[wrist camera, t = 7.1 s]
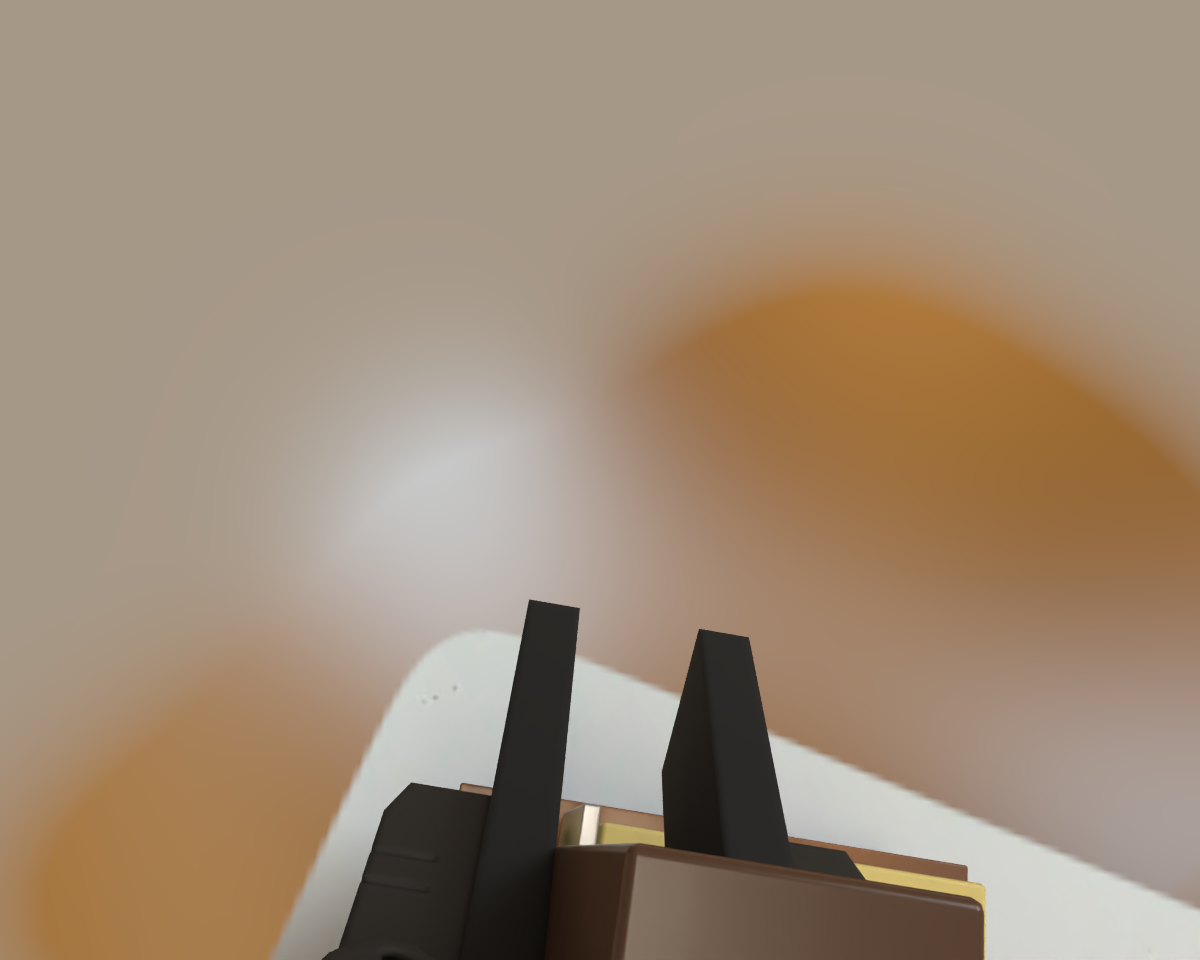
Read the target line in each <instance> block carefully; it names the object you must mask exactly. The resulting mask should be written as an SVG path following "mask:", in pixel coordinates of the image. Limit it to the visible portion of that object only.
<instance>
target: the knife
mask: <svg viewBox="0 0 1200 960" xmlns="http://www.w3.org/2000/svg"><path fill="white" fill-rule="evenodd" d="M600 811H601V807H600V806H598V805H592V804H583V805H581V806H579V807H577V808H575V809H573V810H570V811H568V812H566V813H564V815H563V820H562V827H561V833H560V839H559V846H556V850H555V856H554V866H553V876H552V886H551V897H550V907H549V917H548V927H547V937H546V947H545V957H544V960H984V911H983V907H982V904H981V903H980V902H978V901H977V900H975V899H973V898H972V897H968V896H962V895H955V894H949V893H943V892H937V891H931V890H925V889H919V888H913V887H906V886H900V885H894V884H888V883H882V882H876V881H870V880H864V879H857V878H851V877H845V876H839V875H833V874H827V873H821V872H815V871H808V870H802V869H796V868H790V867H784V866H778V865H772V864H766V863H759V862H753V861H747V860H741V859H735V858H729V857H723V856H717V855H710V854H704V853H698V852H692V851H686V850H680V849H674V848H668V847H661V846H655V845H649V844H643V843H623V844H596V839H597V832H598V825H599V818H600Z"/></svg>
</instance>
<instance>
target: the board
mask: <svg viewBox="0 0 1200 960" xmlns="http://www.w3.org/2000/svg"><path fill="white" fill-rule="evenodd" d="M492 790H493V788H491V787H485V786H479V785H473V784H467V783H461V785H460V791H466V792H472V793H478V794H484V795H490V796H491V795H492ZM583 804H588V803H582V802H576V801H570V800H564V799H561V804H560V815H559V825H558V835H557V845H556V846H559V839H560V833H561V827H562V820H563V815H564V813H566V812H568V811H570V810H573V809H575V808H577V807H579V806H581V805H583ZM592 805H594V804H592ZM598 806H600V805H598ZM600 807H601V811H600V818H599V824H603V823H613V824H619V825H625V826H631V827H638V828H644V829H650V830H656V831H662V832H664V817H663V816H661V815H655V814H649V813H643V812H637V811H631V810H625V809H618V808H612V807H606V806H600ZM788 840H789V842H793V843H799V844H805V845H811V846H817V847H823V848H829V849H835V850H841V851H846V853H847V854H848V855H849V857H850V858H851V860H852V861H853V862H854V863H857V864H863V865H869V866H875V867H882V868H888V869H894V870H900V871H906V872H912V873H918V874H924V875H930V876H936V877H943V878H949V879H955V880H961V881H967V873H968V868H967V866H965V865H959V864H953V863H947V862H940V861H934V860H928V859H922V858H916V857H910V856H904V855H898V854H892V853H886V852H880V851H874V850H868V849H861V848H855V847H849V846H843V845H837V844H831V843H825V842H819V841H813V840H807V839H801V838H795V837H789V836H788Z"/></svg>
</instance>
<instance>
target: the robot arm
mask: <svg viewBox="0 0 1200 960" xmlns="http://www.w3.org/2000/svg"><path fill="white" fill-rule="evenodd" d="M579 610H580V608H575V607H570V606H563V605H558V604H552V603H547V602H541V601H535V600H529V604H528V608H527V614H526V619H525V624H524V629H523V634H522V640H521V645H520V650H519V655H518V660H517V666H516V671H515V676H514V681H513V686H512V692H511V697H510V702H509V707H508V712H507V718H506V723H505V728H504V733H503V738H502V743H501V749H500V754H499V759H498V764H497V769H496V775H495V780H494V785H493V790H492V795H491V796H490V795H484V794H478V793H472V792H466V791H460V790H454V789H448V788H441V787H435V786H429V785H423V784H417V783H410V784H409V785H408V786H407V787H406V788H405V789H404V790H403V791H402V792H401V793H400V795H399V796H398V797H397V798H396V799H395V800H394V801H393V802H392V803H391V804H390V805H389V806H388V807H387V808H386V809H385V810H384V812H383V815H382V818H381V821H380V824H379V827H378V830H377V833H376V836H375V839H374V842H373V845H372V850H371V853H370V854H369V857H368V860H367V863H366V866H365V870H364V873H363V876H362V881H361V883H360V885H359V888H358V891H357V894H356V897H355V900H354V903H353V906H352V909H351V912H350V915H349V918H348V921H347V924H346V927H345V930H344V933H343V936H342V939H341V942H340V945H339V948H338V949H336V950H334V951H332V952H329V953H328V954H327V955H326V956H325V957H324V958H323V959H322V960H544V957H545V947H546V937H547V927H548V917H549V907H550V897H551V886H552V876H553V866H554V856H555V850H556V845H557V835H558V825H559V815H560V804H561V794H562V784H563V774H564V764H565V753H566V743H567V733H568V723H569V713H570V703H571V692H572V682H573V672H574V662H575V652H576V641H577V631H578V621H579ZM662 791H663V817H664V844H665V847H668V848H674V849H680V850H686V851H692V852H698V853H704V854H710V855H717V856H723V857H729V858H735V859H741V860H747V861H753V862H759V863H766V864H772V865H778V866H784V867H790V868H796V869H802V870H808V871H815V872H821V873H827V874H833V875H839V876H845V877H851V878H857V879H864V880H866V879H865V878H864V876H863V875H862V873H861V872H860V871H859V869H858V868H857V867H856V865H855V864H854V862H853V861H852V860H851V858H850V857H849V855H848V854H847V853H846V851H841V850H835V849H829V848H823V847H817V846H811V845H805V844H799V843H793V842H789V840H788V835H787V830H786V824H785V819H784V814H783V809H782V804H781V799H780V794H779V789H778V784H777V779H776V773H775V768H774V763H773V758H772V753H771V748H770V743H769V738H768V733H767V727H766V723H765V717H764V712H763V707H762V702H761V697H760V692H759V687H758V682H757V676H756V671H755V667H754V661H753V656H752V651H751V646H750V641H749V638H748V637H743V636H737V635H732V634H726V633H719V632H714V631H708V630H702V629H699V631H698V635H697V639H696V643H695V647H694V650H693V654H692V658H691V662H690V666H689V670H688V673H687V678H686V681H685V685H684V689H683V693H682V696H681V700H680V704H679V708H678V712H677V716H676V719H675V723H674V727H673V731H672V735H671V738H670V742H669V746H668V750H667V754H666V758H665V761H664V765H663V769H662Z"/></svg>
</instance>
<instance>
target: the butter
mask: <svg viewBox="0 0 1200 960" xmlns="http://www.w3.org/2000/svg"><path fill="white" fill-rule="evenodd" d="M623 843H643V844H649V845H655V846H661V847H665V844H664V832H662V831H656V830H650V829H644V828H638V827H631V826H625V825H619V824H613V823H603V824H599V825H598V832H597V839H596V844H623ZM854 864H855V865H856V867H857V868H858V869H859V871H860V872H861V873H862V875H863V876H864V878H865V879H866V880H870V881H876V882H882V883H888V884H894V885H900V886H906V887H913V888H919V889H925V890H931V891H937V892H943V893H949V894H955V895H962V896H968V897H972V898H973V899H975V900H977V901H978V902H980V903H981V904H982V907H983V911H984V960H985V887H984V886H983V885H982V884H979V883H973V882H967V881H961V880H955V879H949V878H943V877H936V876H930V875H924V874H918V873H912V872H906V871H900V870H894V869H888V868H882V867H875V866H869V865H863V864H857V863H854Z"/></svg>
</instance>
